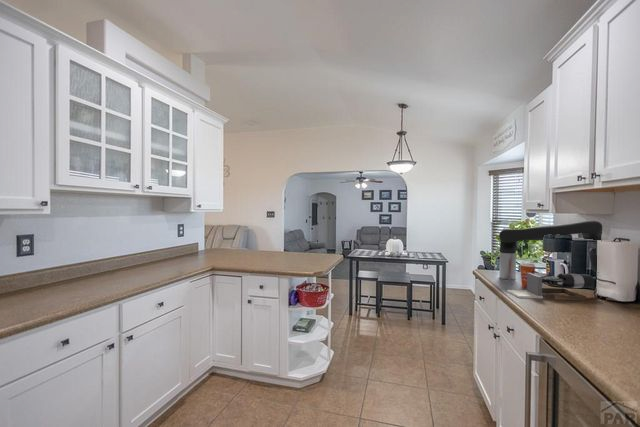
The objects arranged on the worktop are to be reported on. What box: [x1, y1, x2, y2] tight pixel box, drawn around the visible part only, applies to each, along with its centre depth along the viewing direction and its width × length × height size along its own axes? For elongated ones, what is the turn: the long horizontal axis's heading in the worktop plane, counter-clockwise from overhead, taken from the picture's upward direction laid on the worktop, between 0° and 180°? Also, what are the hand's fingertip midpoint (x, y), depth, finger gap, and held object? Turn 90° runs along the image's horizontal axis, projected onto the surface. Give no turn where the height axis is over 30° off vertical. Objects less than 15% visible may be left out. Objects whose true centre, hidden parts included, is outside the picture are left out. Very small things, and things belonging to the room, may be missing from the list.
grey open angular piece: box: [506, 273, 544, 299], centre depth 166 cm, size 12×12×11 cm
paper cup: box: [519, 261, 536, 288], centre depth 183 cm, size 8×8×14 cm
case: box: [542, 287, 587, 301], centre depth 164 cm, size 16×15×2 cm
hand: (536, 280), depth 165 cm, fingers closed
